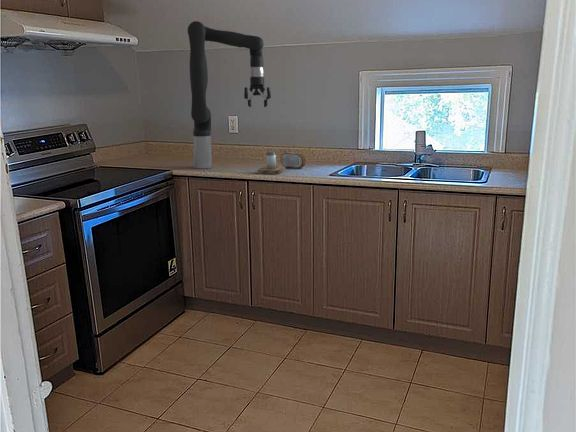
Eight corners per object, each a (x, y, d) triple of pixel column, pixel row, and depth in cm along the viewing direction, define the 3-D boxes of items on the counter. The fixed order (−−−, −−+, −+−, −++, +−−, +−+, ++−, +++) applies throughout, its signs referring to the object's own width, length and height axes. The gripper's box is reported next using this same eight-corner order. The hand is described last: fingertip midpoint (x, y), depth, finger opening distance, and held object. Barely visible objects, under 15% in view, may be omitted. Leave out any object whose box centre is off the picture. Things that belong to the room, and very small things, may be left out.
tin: (305, 168, 289) (305, 152, 287) (302, 169, 286) (302, 153, 284) (282, 166, 297) (282, 151, 295) (279, 167, 294) (279, 151, 292)
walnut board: (257, 173, 272) (257, 169, 271) (265, 169, 285) (265, 165, 285) (278, 174, 269) (278, 170, 269) (285, 170, 282) (285, 166, 282)
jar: (265, 168, 275) (264, 153, 273) (268, 167, 280) (268, 151, 278) (274, 168, 274) (273, 153, 272) (277, 167, 278) (276, 151, 276)
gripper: (242, 76, 286) (243, 107, 290) (267, 75, 282) (268, 107, 286) (246, 76, 293) (247, 106, 297) (271, 76, 290) (272, 106, 293)
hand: (257, 106), depth 292 cm, fingers open, 8 cm apart
